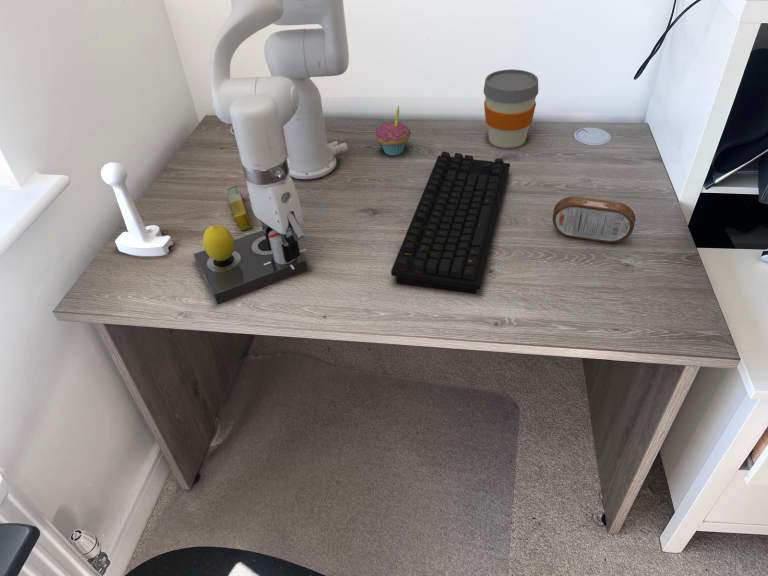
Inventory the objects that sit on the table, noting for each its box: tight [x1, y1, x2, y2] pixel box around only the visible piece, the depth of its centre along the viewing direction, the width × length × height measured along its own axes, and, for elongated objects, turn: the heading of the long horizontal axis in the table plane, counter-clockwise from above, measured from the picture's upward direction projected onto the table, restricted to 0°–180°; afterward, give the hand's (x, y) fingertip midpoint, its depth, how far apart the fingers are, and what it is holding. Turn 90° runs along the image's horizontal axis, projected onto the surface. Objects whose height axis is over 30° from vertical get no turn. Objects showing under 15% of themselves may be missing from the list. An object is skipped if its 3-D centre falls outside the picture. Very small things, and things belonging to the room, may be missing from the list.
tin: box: [552, 195, 636, 244], centre depth 118 cm, size 15×3×8 cm, turn 71°
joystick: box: [100, 161, 174, 257], centre depth 122 cm, size 11×8×20 cm
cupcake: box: [374, 105, 412, 156], centre depth 147 cm, size 9×8×12 cm
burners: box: [207, 236, 272, 272], centre depth 120 cm, size 15×6×1 cm, turn 118°
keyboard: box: [390, 151, 511, 295], centre depth 125 cm, size 42×16×5 cm, turn 165°
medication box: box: [226, 185, 253, 232], centre depth 132 cm, size 12×3×4 cm, turn 19°
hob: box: [193, 229, 308, 305], centre depth 119 cm, size 19×15×3 cm
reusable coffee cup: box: [483, 68, 539, 149], centre depth 147 cm, size 12×13×15 cm
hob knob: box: [268, 229, 296, 264], centre depth 116 cm, size 4×4×6 cm
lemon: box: [202, 224, 235, 261], centre depth 116 cm, size 6×6×8 cm
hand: (284, 252), depth 117 cm, fingers closed on hob knob, 4 cm apart
